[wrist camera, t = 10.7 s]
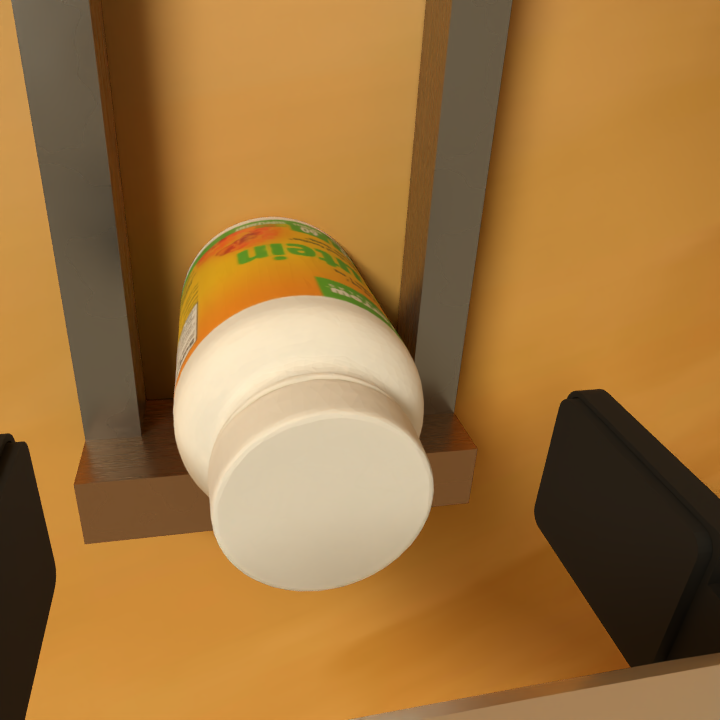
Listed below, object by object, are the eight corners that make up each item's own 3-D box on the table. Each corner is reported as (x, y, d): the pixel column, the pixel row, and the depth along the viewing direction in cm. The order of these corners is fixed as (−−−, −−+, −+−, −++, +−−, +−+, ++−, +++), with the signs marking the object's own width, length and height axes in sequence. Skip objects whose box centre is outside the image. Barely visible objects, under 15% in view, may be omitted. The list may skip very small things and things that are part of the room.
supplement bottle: (377, 231, 19) (515, 393, 11) (336, 387, 22) (425, 621, 13) (194, 195, 18) (191, 352, 9) (169, 367, 20) (148, 620, 11)
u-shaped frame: (-137, -1087, 9) (-349, -1787, 5) (580, -812, 11) (747, -1175, 8) (103, 457, 21) (84, 544, 17) (428, 430, 23) (468, 502, 20)
